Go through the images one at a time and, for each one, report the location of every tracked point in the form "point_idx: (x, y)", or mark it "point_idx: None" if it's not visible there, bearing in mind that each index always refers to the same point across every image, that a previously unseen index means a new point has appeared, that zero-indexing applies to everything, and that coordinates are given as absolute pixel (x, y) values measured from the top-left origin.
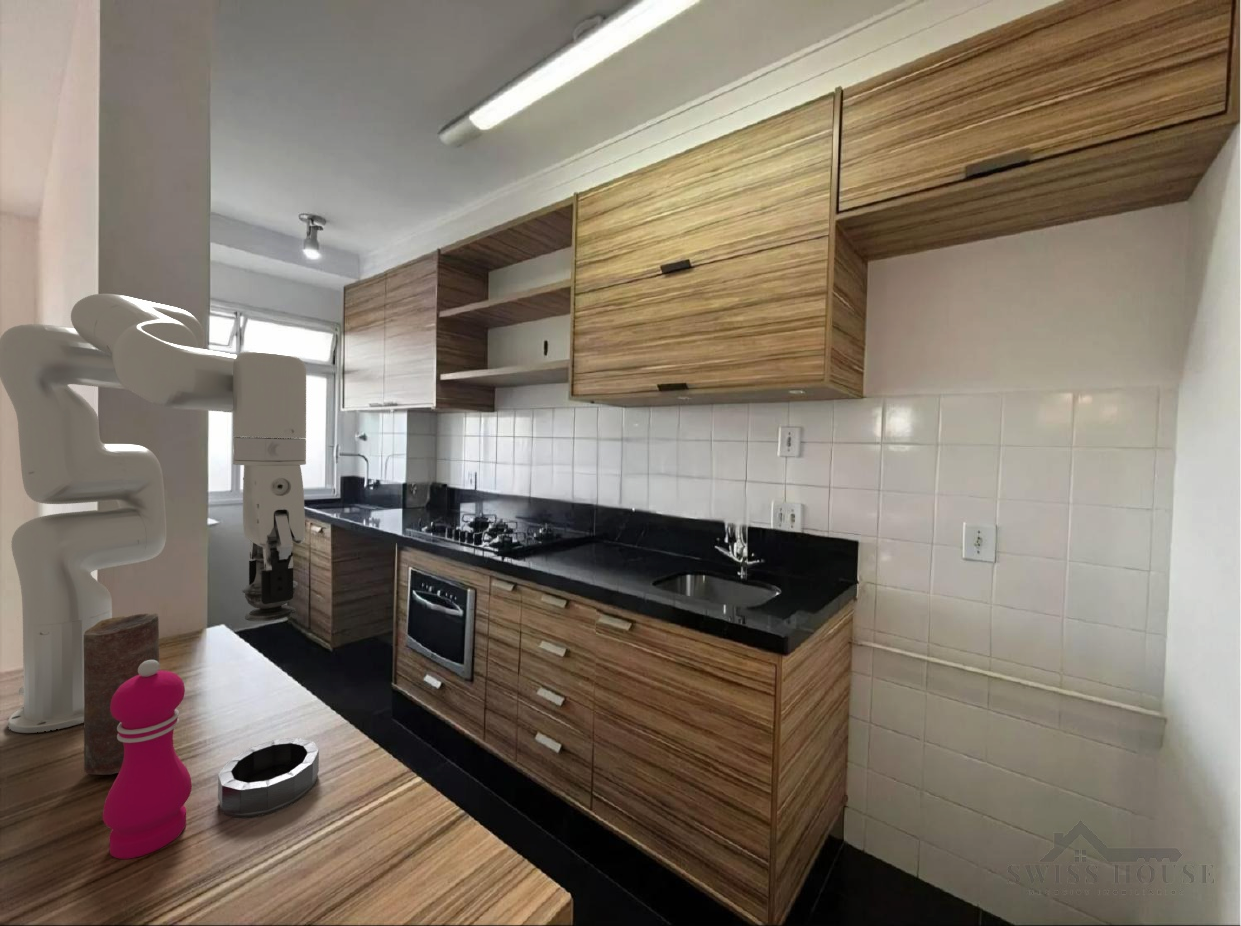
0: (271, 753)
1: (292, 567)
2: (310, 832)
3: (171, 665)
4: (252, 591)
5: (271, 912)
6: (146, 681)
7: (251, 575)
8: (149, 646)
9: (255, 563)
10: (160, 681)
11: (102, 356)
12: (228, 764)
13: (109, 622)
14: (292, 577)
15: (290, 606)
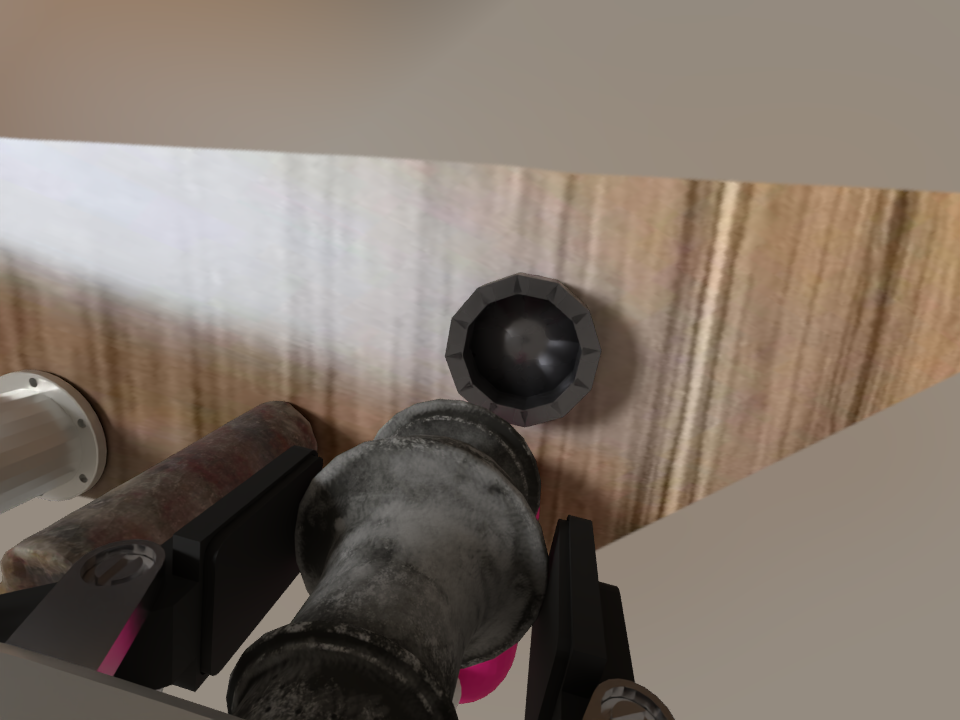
0: (470, 326)
1: (659, 702)
2: (686, 357)
3: None
4: (462, 662)
5: (781, 455)
6: (474, 686)
7: (263, 615)
8: (159, 540)
9: (218, 658)
10: (486, 664)
11: None
12: (469, 397)
13: None
14: (596, 601)
15: (459, 424)
